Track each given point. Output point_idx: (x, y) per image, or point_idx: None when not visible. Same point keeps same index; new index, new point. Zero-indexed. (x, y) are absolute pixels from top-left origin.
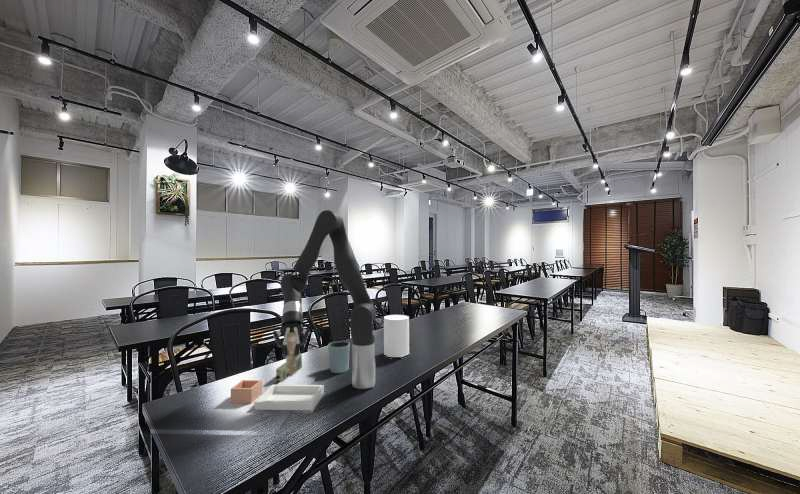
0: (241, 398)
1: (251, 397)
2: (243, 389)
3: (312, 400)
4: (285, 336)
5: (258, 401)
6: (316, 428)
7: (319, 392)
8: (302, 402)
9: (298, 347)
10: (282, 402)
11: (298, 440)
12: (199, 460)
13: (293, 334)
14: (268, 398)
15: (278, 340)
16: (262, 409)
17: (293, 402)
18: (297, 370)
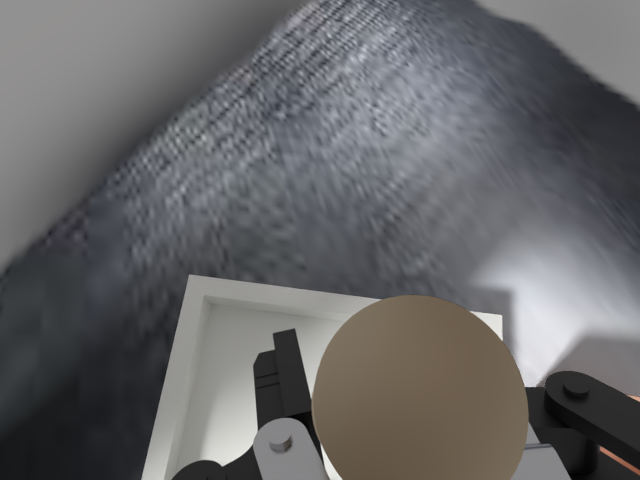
0: None
1: None
2: (631, 396)
3: (189, 300)
4: (548, 472)
5: (482, 319)
6: (170, 172)
7: (158, 415)
8: (240, 283)
9: (271, 405)
10: (348, 295)
11: (228, 112)
12: (504, 58)
13: (348, 319)
14: None
15: (621, 417)
16: None
17: (289, 289)
18: None
